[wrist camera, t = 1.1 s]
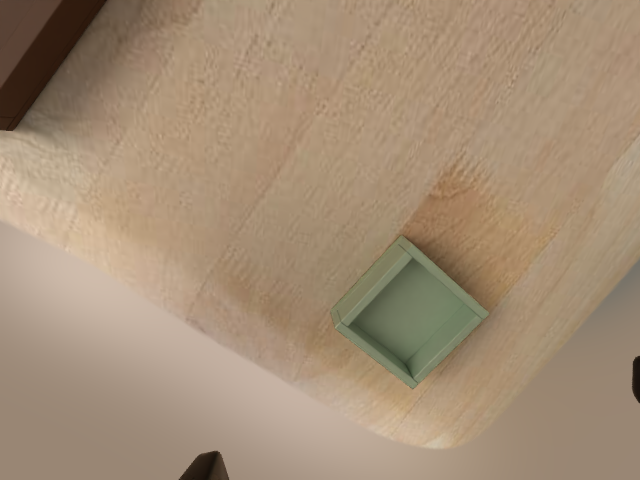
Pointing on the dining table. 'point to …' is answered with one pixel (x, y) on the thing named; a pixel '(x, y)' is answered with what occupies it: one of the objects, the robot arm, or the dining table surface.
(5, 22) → the tray
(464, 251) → the dining table surface
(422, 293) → the celadon dish
